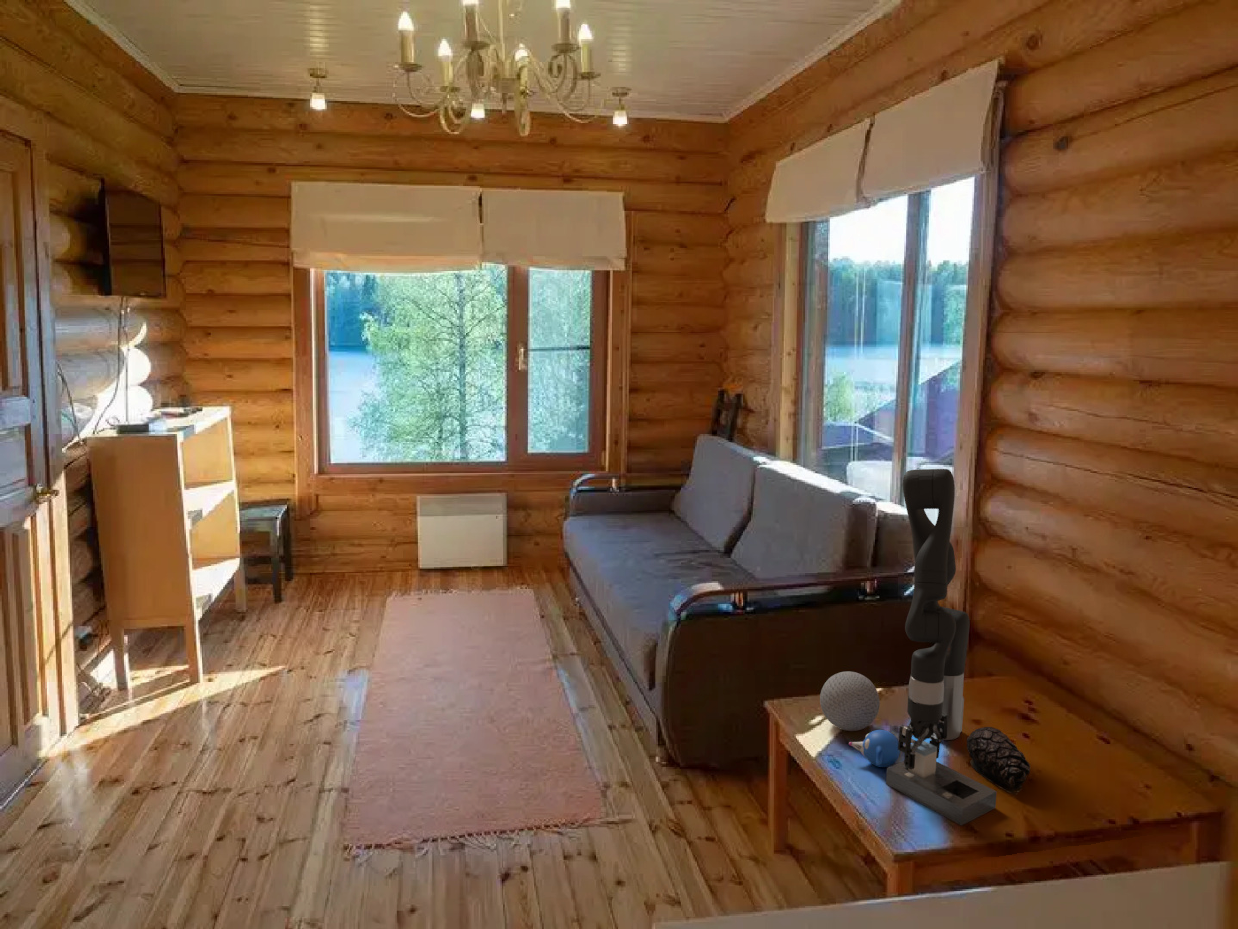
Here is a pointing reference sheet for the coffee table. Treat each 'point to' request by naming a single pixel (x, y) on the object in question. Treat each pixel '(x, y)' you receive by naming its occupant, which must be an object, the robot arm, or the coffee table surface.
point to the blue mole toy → (879, 748)
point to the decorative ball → (849, 701)
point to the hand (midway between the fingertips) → (921, 762)
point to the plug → (925, 760)
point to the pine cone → (997, 759)
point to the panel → (944, 792)
